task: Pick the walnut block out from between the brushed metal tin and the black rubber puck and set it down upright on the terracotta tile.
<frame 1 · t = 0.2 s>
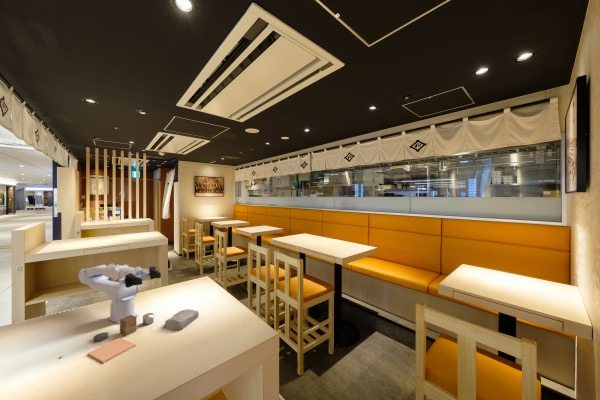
hand: (150, 278, 97), 21 cm above the table, tool horizontal, fingers open, 7 cm apart
key tag: (57, 358, 79), on the table
stone block: (181, 322, 103), on the table
black rubber puck: (100, 339, 90), on the table
terracotta tile: (112, 350, 83), on the table
walnut block: (128, 332, 94), on the table
brushed metal tin: (148, 323, 101), on the table
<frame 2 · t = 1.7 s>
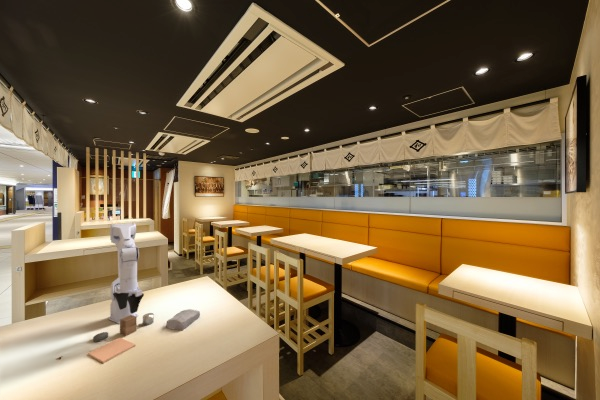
hand: (128, 310, 94), 9 cm above the table, tool pointing down, fingers open, 7 cm apart
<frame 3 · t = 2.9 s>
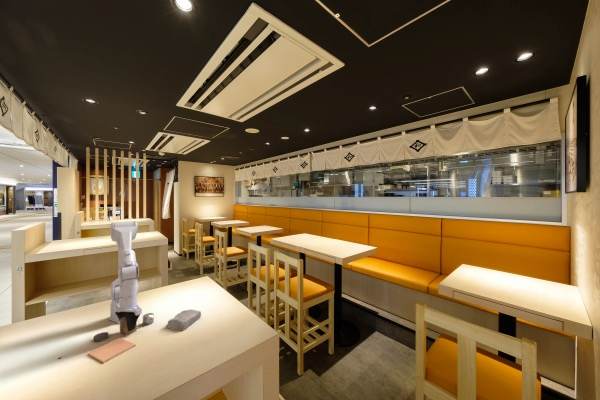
hand: (128, 328, 94), 2 cm above the table, tool pointing down, fingers closed on walnut block, 4 cm apart
walnut block: (128, 332, 94), on the table, touching gripper
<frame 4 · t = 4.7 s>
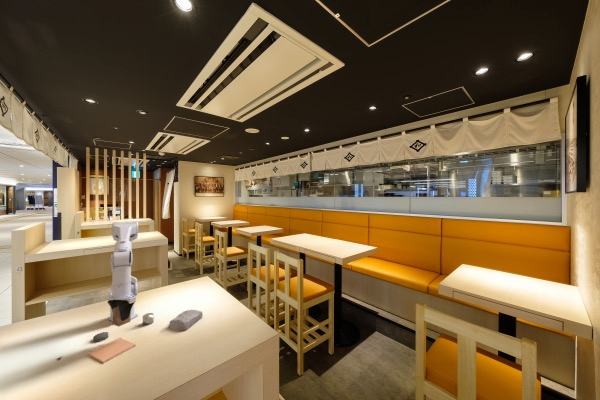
hand: (121, 318, 89), 9 cm above the table, tool pointing down, fingers closed on walnut block, 4 cm apart
walnut block: (121, 322, 89), point 7 cm above the table, touching gripper
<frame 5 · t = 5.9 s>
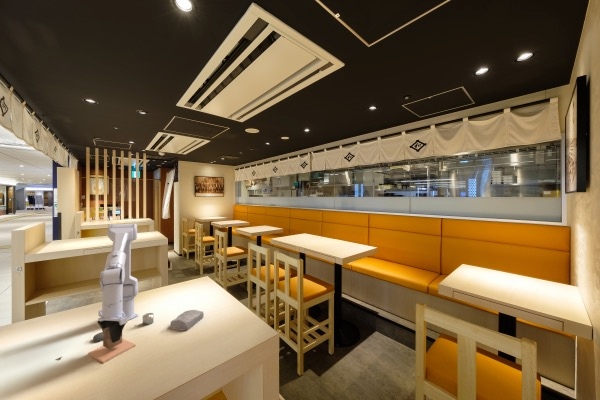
hand: (112, 339, 83), 4 cm above the table, tool pointing down, fingers closed on walnut block, 4 cm apart
walnut block: (112, 344, 83), point 2 cm above the table, touching gripper
when the fingers open (3 cm above the table, at t = 6.5 s): walnut block stays where it is, resting on terracotta tile.
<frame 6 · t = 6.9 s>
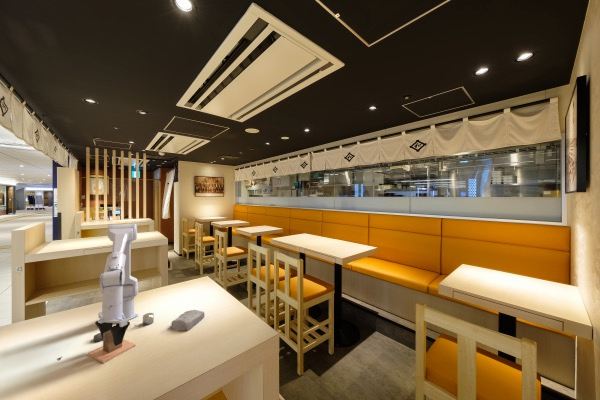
hand: (112, 341, 83), 3 cm above the table, tool pointing down, fingers open, 7 cm apart
walnut block: (112, 348, 83), point 1 cm above the table, touching terracotta tile
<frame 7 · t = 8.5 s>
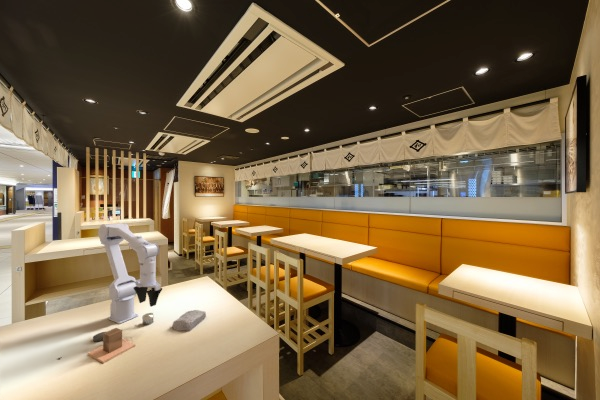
hand: (147, 303, 99), 9 cm above the table, tool pointing down, fingers open, 7 cm apart
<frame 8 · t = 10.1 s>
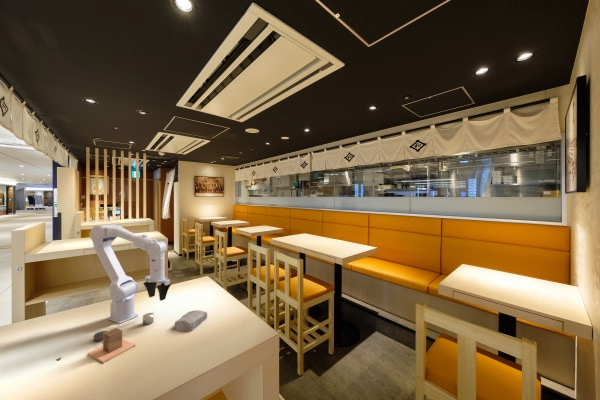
hand: (157, 298, 105), 9 cm above the table, tool pointing down, fingers open, 7 cm apart
at the end: walnut block inside the target area on the terracotta tile (0.1 cm from its centre), point 0.6 cm above the terracotta tile's base; walnut block tilted 0°; the gripper is holding nothing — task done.
